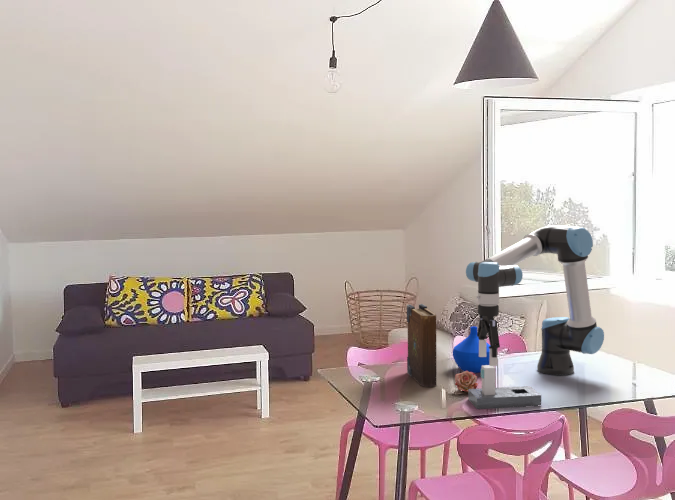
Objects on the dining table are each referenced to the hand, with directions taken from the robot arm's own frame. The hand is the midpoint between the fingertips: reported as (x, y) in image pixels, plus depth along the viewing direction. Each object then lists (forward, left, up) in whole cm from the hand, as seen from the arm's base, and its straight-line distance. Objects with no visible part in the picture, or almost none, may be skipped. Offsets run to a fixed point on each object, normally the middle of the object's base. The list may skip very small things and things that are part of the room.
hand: (487, 361), depth 276 cm
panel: (-6, 0, -17) cm, 18 cm away
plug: (0, 0, -16) cm, 16 cm away
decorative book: (+17, -37, -17) cm, 44 cm away
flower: (+4, -16, -17) cm, 24 cm away
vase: (-8, -48, -17) cm, 52 cm away
